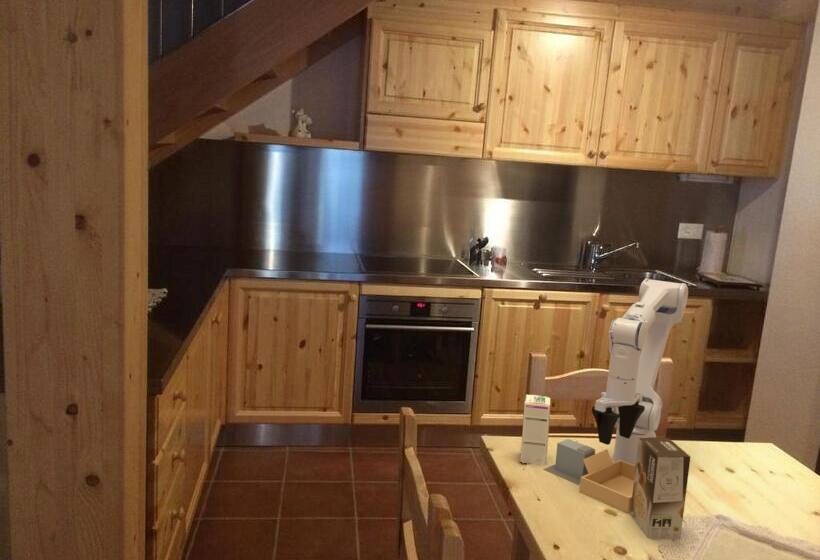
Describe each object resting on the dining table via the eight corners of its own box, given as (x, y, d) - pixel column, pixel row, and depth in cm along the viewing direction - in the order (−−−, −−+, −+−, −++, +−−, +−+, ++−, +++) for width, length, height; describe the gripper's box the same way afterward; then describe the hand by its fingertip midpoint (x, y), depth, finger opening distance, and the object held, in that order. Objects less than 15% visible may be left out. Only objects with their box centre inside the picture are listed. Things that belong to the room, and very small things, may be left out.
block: (565, 464, 152) (568, 437, 151) (592, 475, 147) (595, 448, 146) (554, 468, 150) (557, 441, 149) (582, 480, 145) (584, 452, 144)
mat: (566, 461, 155) (567, 459, 155) (601, 475, 149) (601, 473, 149) (542, 471, 149) (542, 469, 149) (577, 486, 143) (577, 484, 143)
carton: (610, 471, 151) (613, 445, 150) (673, 497, 140) (677, 469, 139) (571, 490, 141) (574, 462, 140) (636, 518, 130) (639, 489, 129)
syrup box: (546, 467, 151) (551, 404, 149) (519, 463, 153) (524, 401, 150) (546, 456, 157) (551, 396, 155) (520, 453, 158) (525, 393, 156)
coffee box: (682, 541, 123) (692, 457, 120) (648, 540, 122) (658, 456, 120) (659, 515, 132) (669, 437, 130) (627, 515, 131) (636, 436, 129)
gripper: (624, 368, 148) (617, 428, 150) (585, 375, 139) (578, 439, 140) (654, 376, 143) (646, 438, 145) (615, 384, 134) (607, 450, 135)
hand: (614, 439), depth 142 cm, fingers open, 7 cm apart
